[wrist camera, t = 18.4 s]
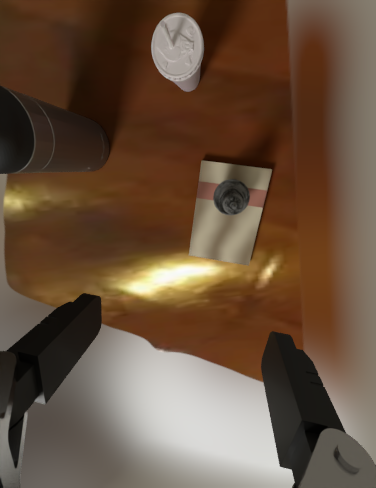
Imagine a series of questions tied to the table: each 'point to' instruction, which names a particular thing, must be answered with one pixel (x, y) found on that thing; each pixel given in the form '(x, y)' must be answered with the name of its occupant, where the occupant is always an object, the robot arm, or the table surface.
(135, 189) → the table surface
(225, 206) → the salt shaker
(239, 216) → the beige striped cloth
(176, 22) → the smoothie
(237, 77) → the table surface
